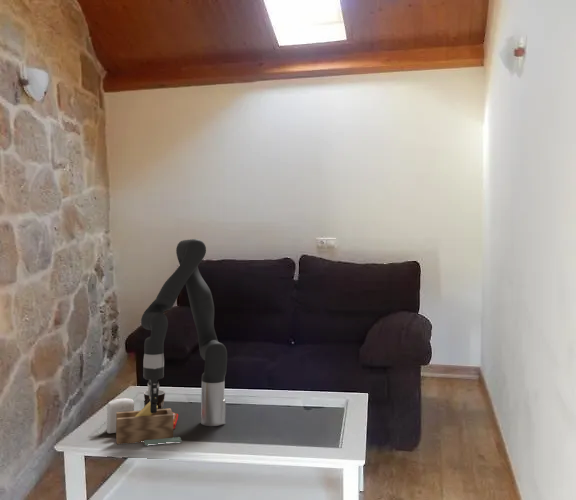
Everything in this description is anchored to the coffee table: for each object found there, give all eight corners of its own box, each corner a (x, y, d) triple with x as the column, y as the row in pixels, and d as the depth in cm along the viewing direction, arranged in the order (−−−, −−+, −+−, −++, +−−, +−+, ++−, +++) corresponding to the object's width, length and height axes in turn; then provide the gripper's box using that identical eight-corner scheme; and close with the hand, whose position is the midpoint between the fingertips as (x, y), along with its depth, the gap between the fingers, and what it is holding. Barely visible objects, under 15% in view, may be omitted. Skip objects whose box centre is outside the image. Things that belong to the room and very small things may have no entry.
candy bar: (175, 430, 222) (175, 423, 222) (165, 430, 221) (165, 423, 221) (178, 418, 238) (178, 410, 238) (169, 418, 237) (170, 410, 237)
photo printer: (131, 427, 224) (132, 395, 224) (135, 430, 221) (135, 398, 220) (105, 431, 218) (105, 399, 218) (108, 434, 215) (108, 402, 215)
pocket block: (170, 431, 220) (170, 408, 220) (173, 439, 211) (173, 415, 211) (116, 436, 213) (116, 412, 213) (116, 444, 205) (117, 419, 205)
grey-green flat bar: (180, 439, 211) (180, 437, 211) (181, 442, 208) (181, 440, 208) (144, 442, 207) (144, 440, 207) (144, 446, 204) (144, 443, 204)
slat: (157, 404, 216) (151, 399, 215) (158, 407, 212) (152, 402, 211) (129, 433, 213) (123, 428, 212) (130, 436, 209) (124, 431, 208)
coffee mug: (155, 412, 244) (155, 388, 244) (169, 415, 239) (169, 392, 239) (133, 418, 235) (133, 394, 235) (147, 422, 230) (147, 398, 230)
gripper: (142, 361, 218) (141, 406, 219) (144, 369, 205) (144, 417, 205) (162, 360, 221) (161, 405, 221) (166, 368, 207) (165, 415, 208)
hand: (153, 410), depth 213 cm, fingers closed on slat, 4 cm apart
